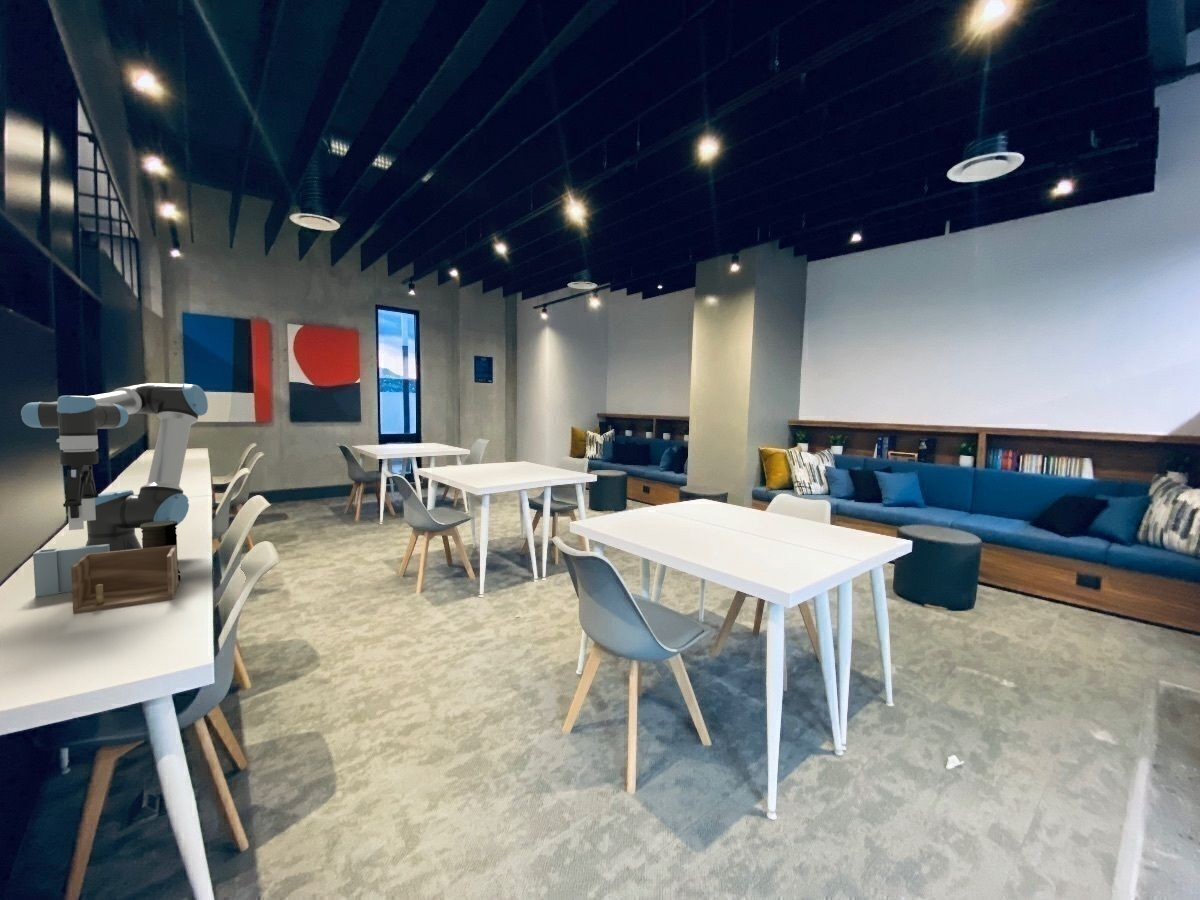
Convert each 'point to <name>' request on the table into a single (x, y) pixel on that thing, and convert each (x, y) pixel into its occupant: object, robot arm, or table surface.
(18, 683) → the table surface
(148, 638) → the table surface
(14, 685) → the table surface
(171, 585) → the cabinet
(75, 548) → the door
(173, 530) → the container
